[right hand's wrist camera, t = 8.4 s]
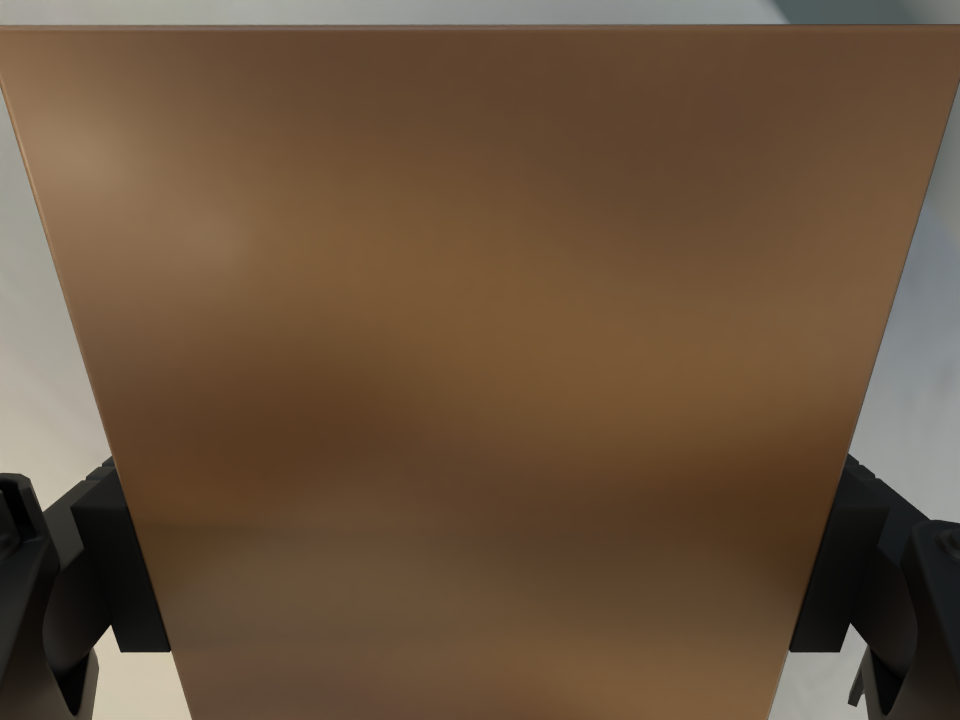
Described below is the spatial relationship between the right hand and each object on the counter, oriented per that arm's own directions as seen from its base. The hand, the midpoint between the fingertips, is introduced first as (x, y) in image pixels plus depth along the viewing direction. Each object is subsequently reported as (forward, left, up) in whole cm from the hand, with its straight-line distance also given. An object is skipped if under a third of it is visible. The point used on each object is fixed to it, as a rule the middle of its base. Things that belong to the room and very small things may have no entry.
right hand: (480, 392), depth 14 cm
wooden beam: (+3, -32, -1) cm, 32 cm away
